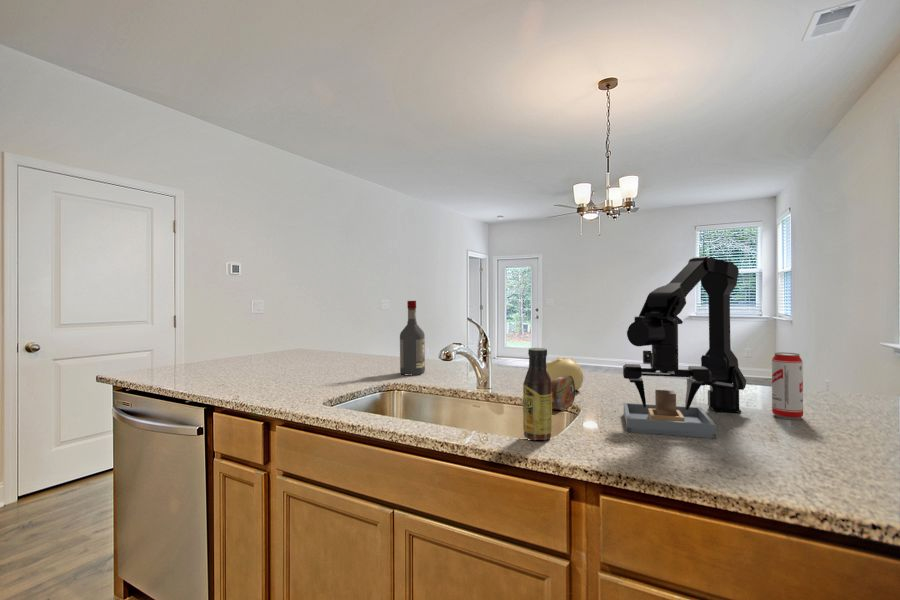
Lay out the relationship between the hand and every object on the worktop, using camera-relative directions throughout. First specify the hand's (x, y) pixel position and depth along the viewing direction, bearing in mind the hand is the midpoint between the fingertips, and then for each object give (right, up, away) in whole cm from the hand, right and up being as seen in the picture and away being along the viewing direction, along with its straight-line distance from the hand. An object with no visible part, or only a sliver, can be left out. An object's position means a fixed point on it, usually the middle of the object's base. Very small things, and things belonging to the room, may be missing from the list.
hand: (665, 408), depth 107 cm
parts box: (0, -4, 0) cm, 4 cm away
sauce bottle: (-32, -5, -8) cm, 34 cm away
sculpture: (-14, -4, +41) cm, 44 cm away
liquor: (-67, -5, +77) cm, 102 cm away
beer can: (+34, -4, +6) cm, 34 cm away
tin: (-20, -4, +19) cm, 28 cm away
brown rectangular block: (0, -3, 0) cm, 3 cm away
